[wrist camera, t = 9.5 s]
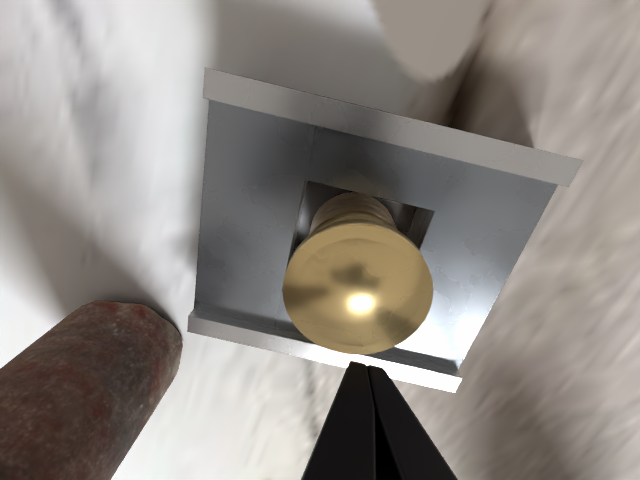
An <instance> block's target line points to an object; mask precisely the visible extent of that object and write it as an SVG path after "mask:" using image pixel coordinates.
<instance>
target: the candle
mask: <svg viewBox="0 0 640 480" xmlns="http://www.w3.org/2000/svg"><path fill="white" fill-rule="evenodd" d="M182 347H183V345H182V339H181V336H180V334H179V332H178V331H177V330H176V329H175V327H174V326H173V325H172V324H171V323H170V322H168V321H167V320H166V319H164V318H161V317H160V316H159V315H158V314H157V313H156V312H154V311H153V310H152V309H150V308H149V307H147V306H145V305H142V304H135V303H121V302H110V301H94V302H92V303H90V304H87V305H83V306H81V307H80V308H78V309H77V310H75V311H74V312H73V313H71V314H70V315H68V316H67V317H66V318H64V319H63V320H62V321H61V322H59V323H58V324H57V325H56V326H54V327H53V328H52V329H51V330H49V331H48V332H47V333H45V334H44V335H43V336H41V337H40V338H39V339H38V340H36V341H35V342H34V343H33V344H31V345H30V346H29V347H27V348H26V349H25V350H24V351H22V352H21V353H20V354H18V355H17V356H16V357H15V358H13V359H12V360H11V361H10V362H8V363H7V364H6V365H5V366H4V367H2V368H1V369H0V480H111V478H112V477H113V475H114V473H115V472H116V470H117V468H118V467H119V465H120V464H121V462H122V461H123V459H124V458H125V456H126V454H127V453H128V451H129V450H130V448H131V446H132V445H133V443H134V442H135V440H136V439H137V437H138V436H139V434H140V432H141V431H142V429H143V427H144V426H145V424H146V423H147V421H148V420H149V418H150V416H151V415H152V413H153V412H154V410H155V409H156V407H157V405H158V404H159V402H160V400H161V399H162V397H163V395H164V394H165V392H166V391H167V389H168V387H169V386H170V384H171V383H172V381H173V379H174V377H175V376H176V374H177V371H178V369H179V364H180V358H181V351H182Z"/></svg>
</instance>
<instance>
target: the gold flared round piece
mask: <svg viewBox="0 0 640 480" xmlns="http://www.w3.org/2000/svg"><path fill="white" fill-rule="evenodd" d="M432 299H433V281H432V277H431V273H430V270H429V268H428V266H427V264H426V262H425V260H424V258H423V256H422V254H421V253H420V251H419V250H418V248H417V247H416V245H415V244H414V243H413V242H412V241H411V240H410V239H409V238H408V237H407V236H405V235H404V234H403V233H401V232H400V231H398V230H397V228H396V225H395V223H394V221H393V219H392V217H391V215H390V213H389V211H388V210H387V208H386V207H385V206H384V205H383V204H382V203H381V202H380V201H378V200H377V199H375V198H373V197H371V196H369V195H366V194H362V193H344V194H340V195H337V196H335V197H333V198H331V199H329V200H328V201H326V202H325V203H324V204H323V205H322V206H321V207H320V208H319V209H318V211H317V212H316V214H315V216H314V218H313V221H312V224H311V227H310V231H309V234H308V237H307V238H306V239H304V240H303V241H302V242H301V244H300V245H299V246H298V247H297V249H296V250H295V252H294V253H293V255H292V257H291V259H290V262H289V264H288V267H287V270H286V273H285V276H284V280H283V300H284V305H285V308H286V311H287V313H288V315H289V317H290V319H291V321H292V322H293V324H294V325H295V327H296V328H297V329H298V330H299V331H300V332H301V333H302V334H303V335H304V336H305V337H307V338H308V339H309V340H311V341H312V342H314V343H315V344H317V345H319V346H321V347H323V348H326V349H328V350H331V351H335V352H338V353H344V354H354V355H362V354H372V353H377V352H381V351H384V350H387V349H390V348H392V347H394V346H397V345H399V344H400V343H402V342H403V341H405V340H407V339H408V338H409V337H410V336H412V335H413V334H414V333H415V332H416V331H417V330H418V329H419V328H420V326H421V325H422V323H423V322H424V321H425V319H426V317H427V315H428V313H429V310H430V308H431V305H432Z"/></svg>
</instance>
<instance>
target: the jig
mask: <svg viewBox="0 0 640 480" xmlns="http://www.w3.org/2000/svg"><path fill="white" fill-rule="evenodd" d="M203 98H206V99H209V113H208V126H207V139H206V153H205V166H204V180H203V193H202V207H201V220H200V234H199V247H198V261H197V274H196V288H195V301H194V309H193V311H192V312H191V313H190V315H189V316H188V331H187V332H191V333H196V334H200V335H204V336H209V337H213V338H218V339H222V340H226V341H231V342H235V343H240V344H244V345H248V346H253V347H257V348H261V349H266V350H270V351H275V352H279V353H283V354H288V355H292V356H297V357H301V358H305V359H310V360H314V361H318V362H323V363H327V364H332V365H336V366H340V367H345V368H347V367H348V364H349V362H350V361H356V362H361V363H364V364H366V366H367V365H374V366H378V367H382V368H383V369H385V371H386V372H387V374H388V375H389V377H390V378H393V379H397V380H402V381H406V382H411V383H415V384H419V385H424V386H428V387H432V388H437V389H441V390H446V391H450V392H454V393H455V391H456V389H457V387H458V385H459V384H460V382H461V380H462V377H461V374H460V372H459V370H458V369H459V367H460V365H461V363H462V362H463V360H464V358H465V356H466V354H467V352H468V350H469V349H470V347H471V345H472V343H473V341H474V339H475V337H476V336H477V334H478V332H479V330H480V328H481V326H482V325H483V323H484V321H485V319H486V317H487V315H488V313H489V312H490V310H491V308H492V306H493V304H494V302H495V300H496V299H497V297H498V295H499V293H500V291H501V289H502V287H503V286H504V284H505V282H506V280H507V278H508V276H509V275H510V273H511V271H512V269H513V267H514V265H515V263H516V262H517V260H518V258H519V256H520V254H521V252H522V250H523V249H524V247H525V245H526V243H527V241H528V239H529V237H530V236H531V234H532V232H533V230H534V228H535V226H536V225H537V223H538V221H539V219H540V217H541V215H542V213H543V212H544V210H545V208H546V206H547V204H548V202H549V200H550V199H551V197H552V195H553V193H554V191H555V189H556V188H557V186H558V185H562V186H566V187H569V186H570V184H571V182H572V180H573V179H574V177H575V175H576V173H577V172H578V170H579V168H580V166H581V164H582V163H583V160H579V159H575V158H571V157H567V156H563V155H559V154H555V153H551V152H547V151H543V150H539V149H534V148H530V147H526V146H522V145H518V144H514V143H510V142H506V141H502V140H498V139H494V138H490V137H486V136H482V135H478V134H474V133H469V132H465V131H461V130H457V129H453V128H449V127H445V126H441V125H437V124H433V123H429V122H425V121H421V120H417V119H413V118H408V117H404V116H400V115H396V114H392V113H388V112H384V111H380V110H376V109H372V108H368V107H364V106H360V105H356V104H352V103H348V102H343V101H339V100H335V99H331V98H327V97H323V96H319V95H315V94H311V93H307V92H303V91H299V90H295V89H291V88H287V87H282V86H278V85H274V84H270V83H266V82H262V81H258V80H254V79H250V78H246V77H242V76H238V75H234V74H230V73H226V72H222V71H217V70H213V69H209V68H205V75H204V90H203ZM308 181H312V182H317V183H321V184H325V185H329V186H333V187H337V188H342V189H346V190H350V191H354V192H358V193H362V194H367V195H371V196H375V197H379V198H383V199H387V200H392V201H396V202H400V203H404V204H408V205H412V206H417V209H416V212H415V214H414V217H413V220H412V223H411V225H410V228H409V231H408V233H407V237H408V238H409V239H410V240H411V241H412V242H413V243H414V244H415V245H416V247H417V248H418V250H419V251H420V253H421V254H422V256H423V258H424V260H425V262H426V264H427V266H428V268H429V270H430V273H431V277H432V281H433V299H432V305H431V308H430V310H429V313H428V315H427V317H426V319H425V321H424V322H423V323H422V325H421V326H420V328H419V329H418V330H417V331H416V332H415V333H414V334H413V335H412V336H410V337H409V338H408V339H407V340H405V341H403V342H402V343H400V344H399V345H397V346H394V347H392V348H390V349H387V350H384V351H381V352H377V353H372V354H362V355H354V354H344V353H338V352H335V351H331V350H328V349H326V348H323V347H321V346H319V345H317V344H315V343H314V342H312V341H311V340H309V339H308V338H307V337H305V336H304V335H303V334H302V333H301V332H300V331H299V330H298V329H297V328H296V327H295V325H294V324H293V322H292V321H291V319H290V317H289V315H288V313H287V311H286V308H285V305H284V300H283V280H284V276H285V273H286V270H287V267H288V264H289V262H290V259H291V257H292V255H293V250H294V246H295V241H296V236H297V231H298V227H299V222H300V217H301V212H302V208H303V203H304V198H305V194H306V189H307V184H308Z"/></svg>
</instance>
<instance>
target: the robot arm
mask: <svg viewBox="0 0 640 480" xmlns="http://www.w3.org/2000/svg"><path fill="white" fill-rule="evenodd" d="M301 480H458V479H457V478H456V476H455V475H454V473H453V472H452V470H451V469H450V467H449V466H448V464H447V463H446V461H445V460H444V458H443V457H442V455H441V454H440V452H439V451H438V449H437V448H436V446H435V445H434V443H433V442H432V440H431V439H430V437H429V435H428V434H427V432H426V431H425V429H424V428H423V426H422V425H421V423H420V422H419V420H418V419H417V417H416V416H415V414H414V413H413V411H412V410H411V408H410V407H409V405H408V404H407V402H406V401H405V399H404V398H403V396H402V395H401V393H400V392H399V390H398V389H397V387H396V386H395V384H394V383H393V381H392V380H391V378H390V377H389V375H388V374H387V372H386V371H385V369H383V368H382V367H378V366H374V365H367V366H366V364H364V363H361V362H356V361H350V362H349V364H348V367H347V369H346V372H345V374H344V376H343V379H342V381H341V384H340V386H339V389H338V391H337V393H336V396H335V398H334V401H333V403H332V406H331V408H330V410H329V413H328V415H327V418H326V420H325V423H324V425H323V427H322V430H321V432H320V435H319V437H318V439H317V442H316V444H315V447H314V449H313V452H312V454H311V456H310V459H309V461H308V464H307V466H306V469H305V471H304V473H303V476H302V478H301Z"/></svg>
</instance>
